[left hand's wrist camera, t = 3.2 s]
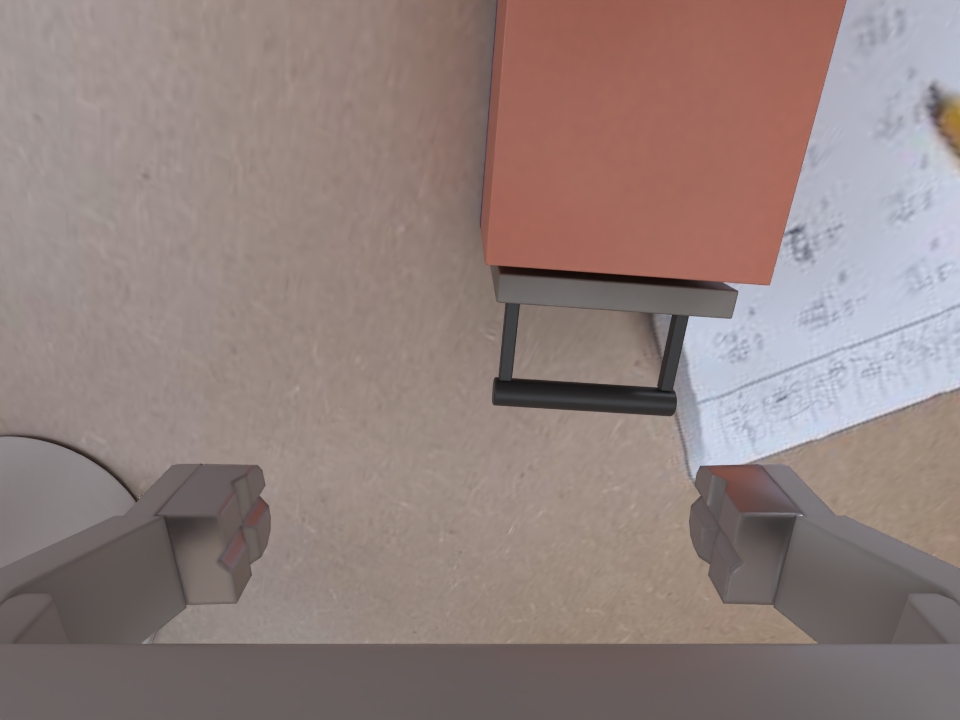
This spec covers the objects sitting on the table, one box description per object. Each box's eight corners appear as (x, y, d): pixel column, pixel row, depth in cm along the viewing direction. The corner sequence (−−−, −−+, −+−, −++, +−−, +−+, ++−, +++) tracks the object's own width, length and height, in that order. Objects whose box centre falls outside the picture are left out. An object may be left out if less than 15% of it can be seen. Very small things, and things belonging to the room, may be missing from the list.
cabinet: (672, 239, 32) (770, 286, 21) (480, 224, 31) (484, 265, 21) (750, -151, 25) (943, -353, 15) (510, -177, 25) (538, -404, 14)
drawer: (643, 369, 33) (700, 445, 25) (480, 358, 33) (484, 432, 24) (731, -79, 25) (859, -188, 17) (518, -101, 25) (543, -223, 17)
